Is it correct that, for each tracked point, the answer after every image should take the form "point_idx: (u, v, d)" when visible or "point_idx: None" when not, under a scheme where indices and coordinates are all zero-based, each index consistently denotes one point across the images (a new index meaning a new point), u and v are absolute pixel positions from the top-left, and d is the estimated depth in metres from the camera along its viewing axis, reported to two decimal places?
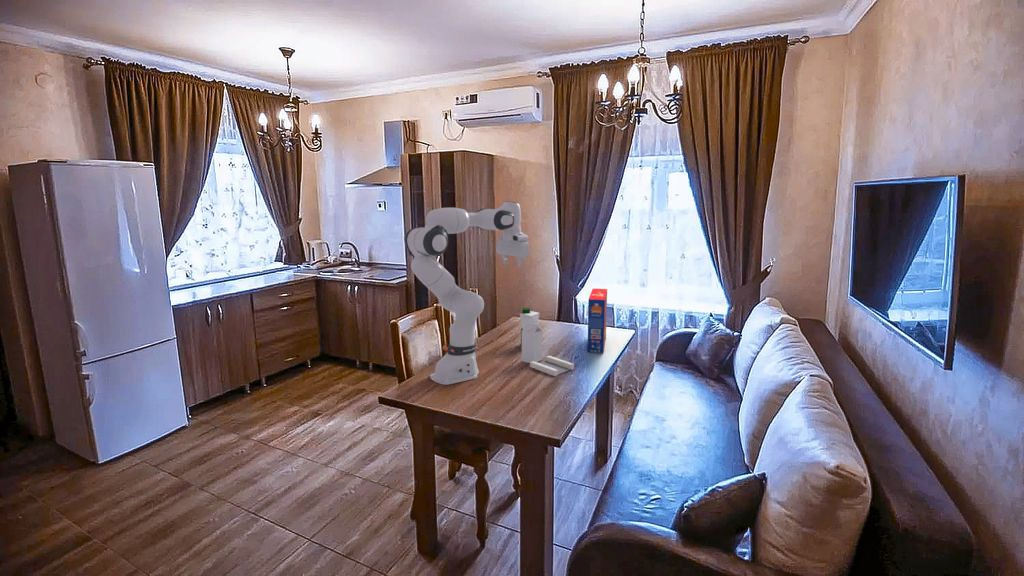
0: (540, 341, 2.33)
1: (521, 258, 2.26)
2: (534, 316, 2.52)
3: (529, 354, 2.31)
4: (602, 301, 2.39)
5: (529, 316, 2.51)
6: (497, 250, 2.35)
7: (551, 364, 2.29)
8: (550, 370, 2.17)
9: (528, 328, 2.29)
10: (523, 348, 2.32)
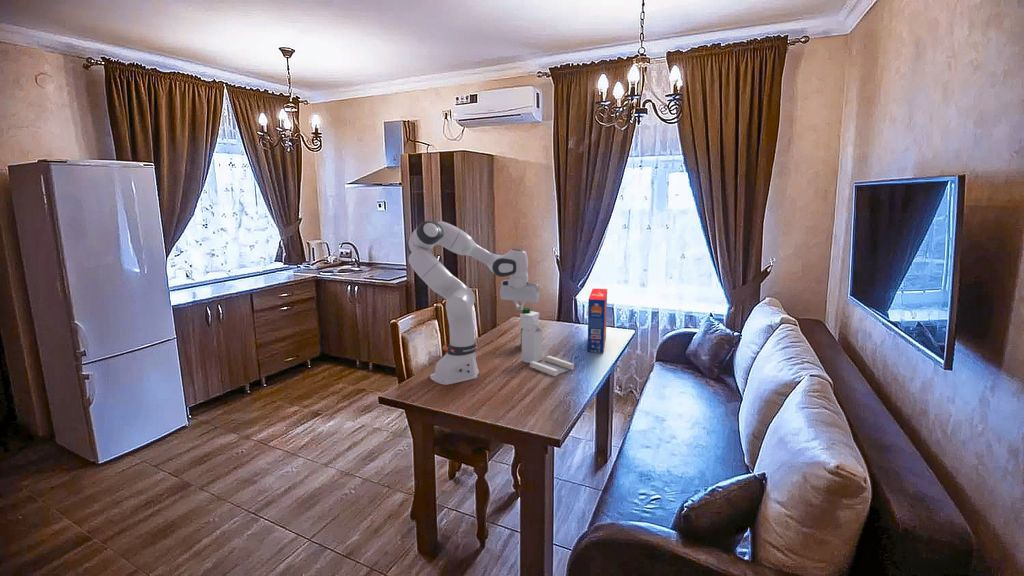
0: (540, 341, 2.33)
1: None
2: (534, 316, 2.52)
3: (529, 354, 2.31)
4: (602, 301, 2.39)
5: (529, 316, 2.51)
6: None
7: (551, 364, 2.29)
8: (550, 370, 2.17)
9: (528, 328, 2.29)
10: (523, 348, 2.32)
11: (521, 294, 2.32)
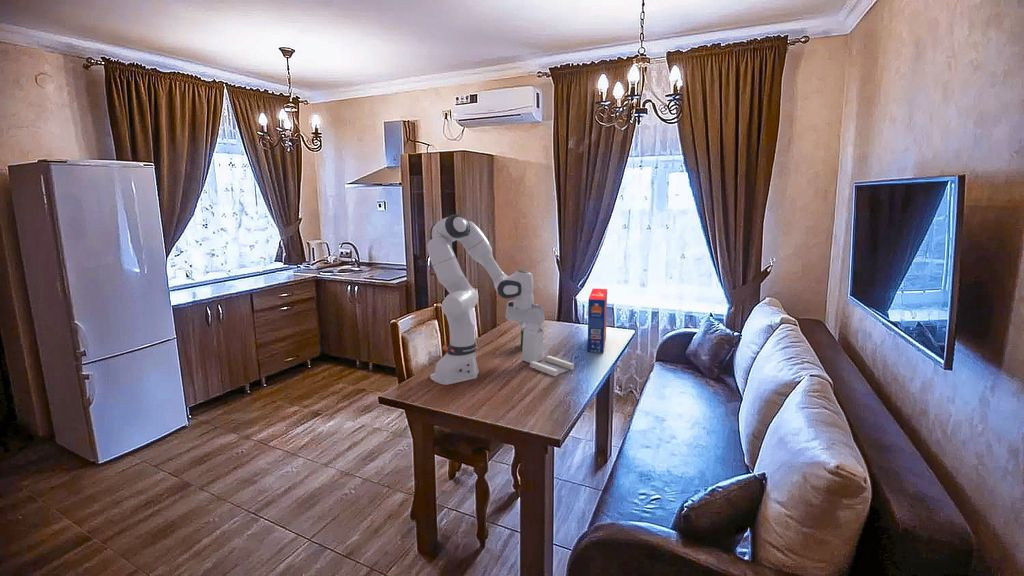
0: (541, 341, 2.32)
1: None
2: None
3: (529, 354, 2.31)
4: (602, 301, 2.39)
5: None
6: None
7: (551, 364, 2.29)
8: (550, 370, 2.17)
9: (530, 328, 2.29)
10: (524, 347, 2.32)
11: (526, 316, 2.32)
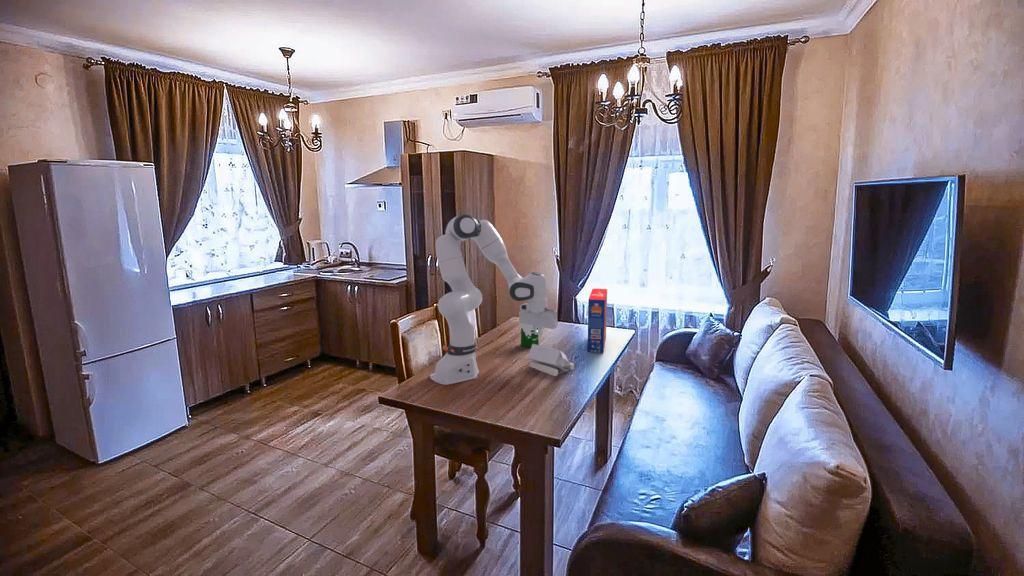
0: None
1: None
2: None
3: (539, 362, 2.26)
4: (602, 301, 2.39)
5: None
6: None
7: None
8: (550, 370, 2.17)
9: (562, 366, 2.19)
10: (540, 361, 2.22)
11: (539, 319, 2.25)
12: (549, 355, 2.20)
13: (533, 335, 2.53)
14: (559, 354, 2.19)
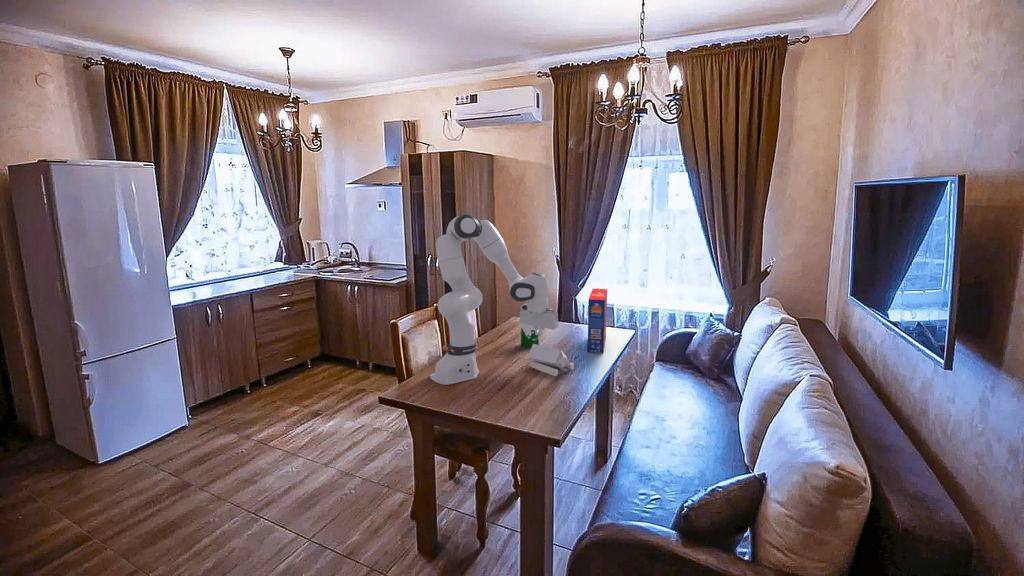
0: None
1: None
2: None
3: (539, 362, 2.26)
4: (602, 301, 2.39)
5: None
6: None
7: None
8: (550, 370, 2.17)
9: (562, 365, 2.19)
10: (540, 360, 2.22)
11: (540, 320, 2.25)
12: (549, 354, 2.21)
13: (533, 335, 2.53)
14: (559, 353, 2.19)
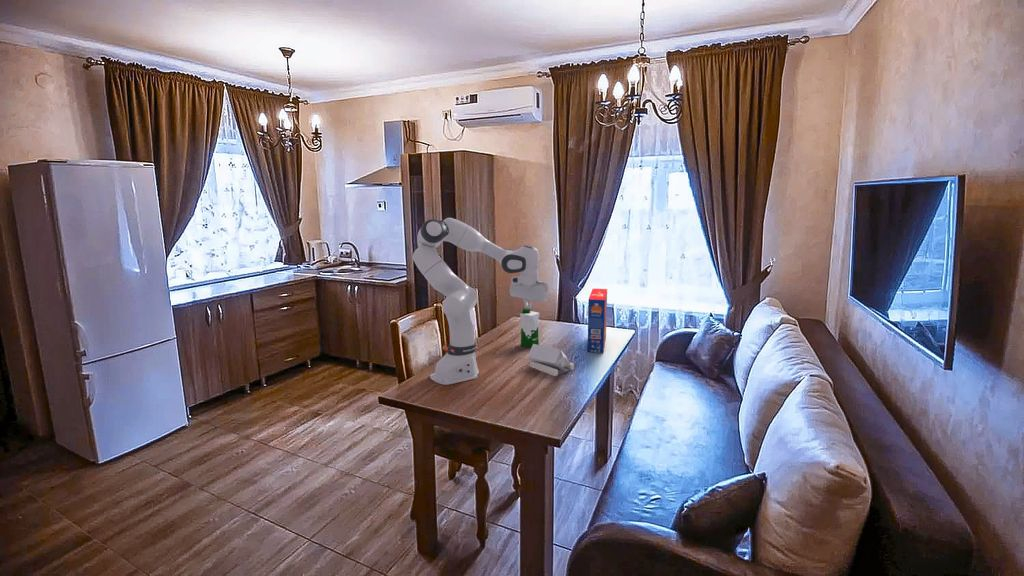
0: None
1: None
2: (534, 316, 2.52)
3: (539, 362, 2.26)
4: (602, 301, 2.39)
5: (529, 316, 2.51)
6: None
7: None
8: (550, 370, 2.17)
9: (562, 365, 2.19)
10: (540, 360, 2.22)
11: (530, 292, 2.27)
12: (549, 354, 2.21)
13: (533, 335, 2.53)
14: (559, 353, 2.19)
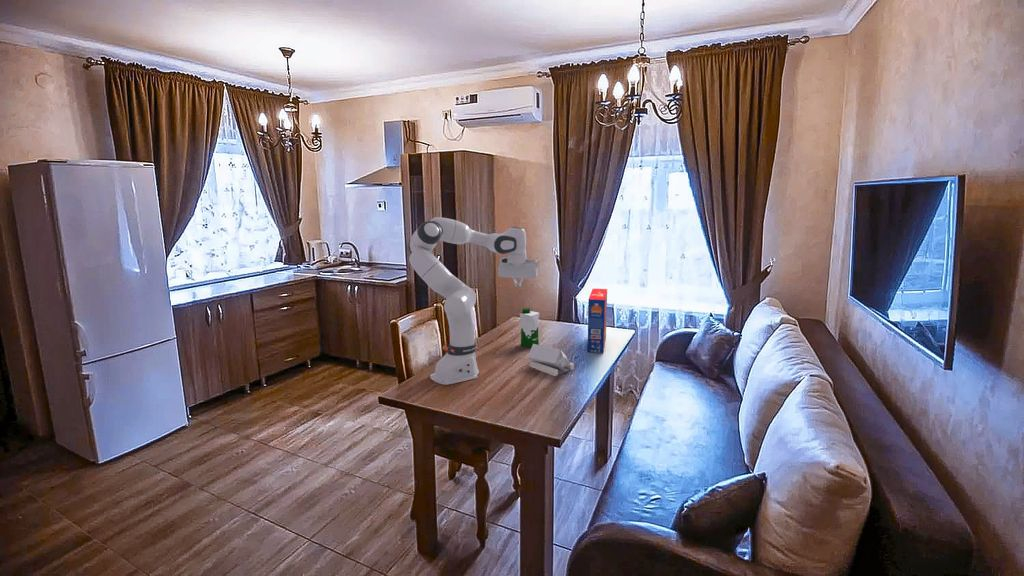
0: None
1: None
2: (534, 316, 2.52)
3: (539, 362, 2.26)
4: (602, 301, 2.39)
5: (529, 316, 2.51)
6: None
7: None
8: (550, 370, 2.17)
9: (562, 365, 2.19)
10: (540, 360, 2.22)
11: (520, 271, 2.40)
12: (549, 354, 2.21)
13: (533, 335, 2.53)
14: (559, 353, 2.19)
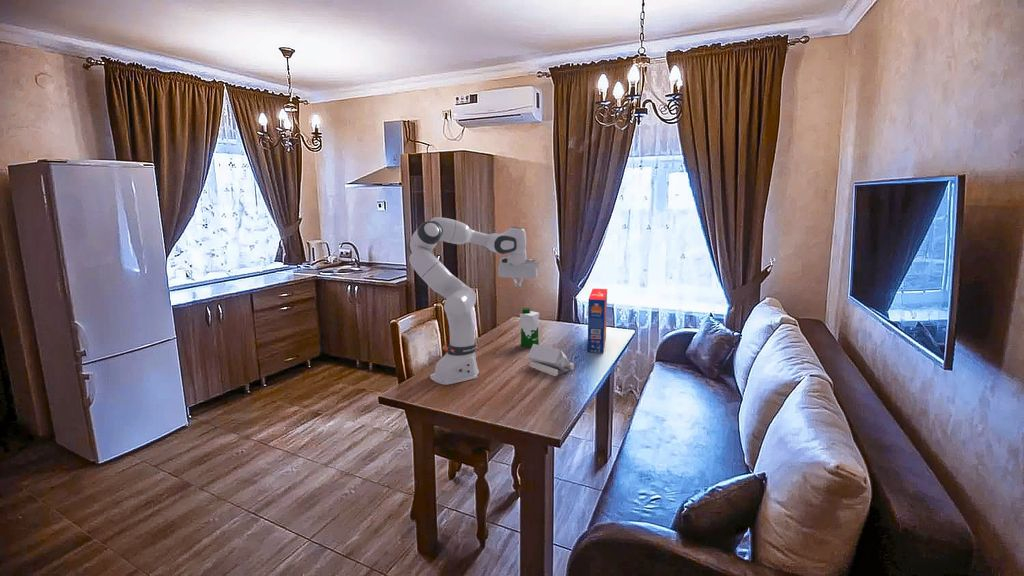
0: None
1: None
2: (534, 316, 2.52)
3: (539, 362, 2.26)
4: (602, 301, 2.39)
5: (529, 316, 2.51)
6: None
7: None
8: (550, 370, 2.17)
9: (562, 365, 2.19)
10: (540, 360, 2.22)
11: (520, 271, 2.40)
12: (549, 354, 2.21)
13: (533, 335, 2.53)
14: (559, 353, 2.19)
